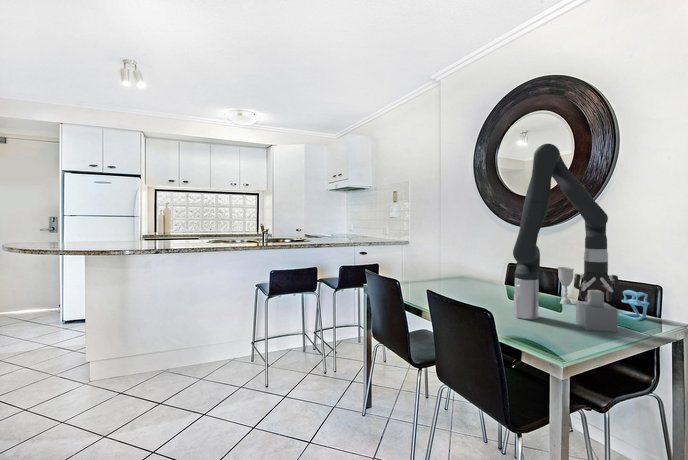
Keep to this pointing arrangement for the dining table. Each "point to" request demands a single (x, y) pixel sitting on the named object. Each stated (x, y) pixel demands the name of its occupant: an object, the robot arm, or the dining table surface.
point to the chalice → (565, 281)
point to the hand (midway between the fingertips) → (595, 300)
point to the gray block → (596, 313)
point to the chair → (635, 302)
